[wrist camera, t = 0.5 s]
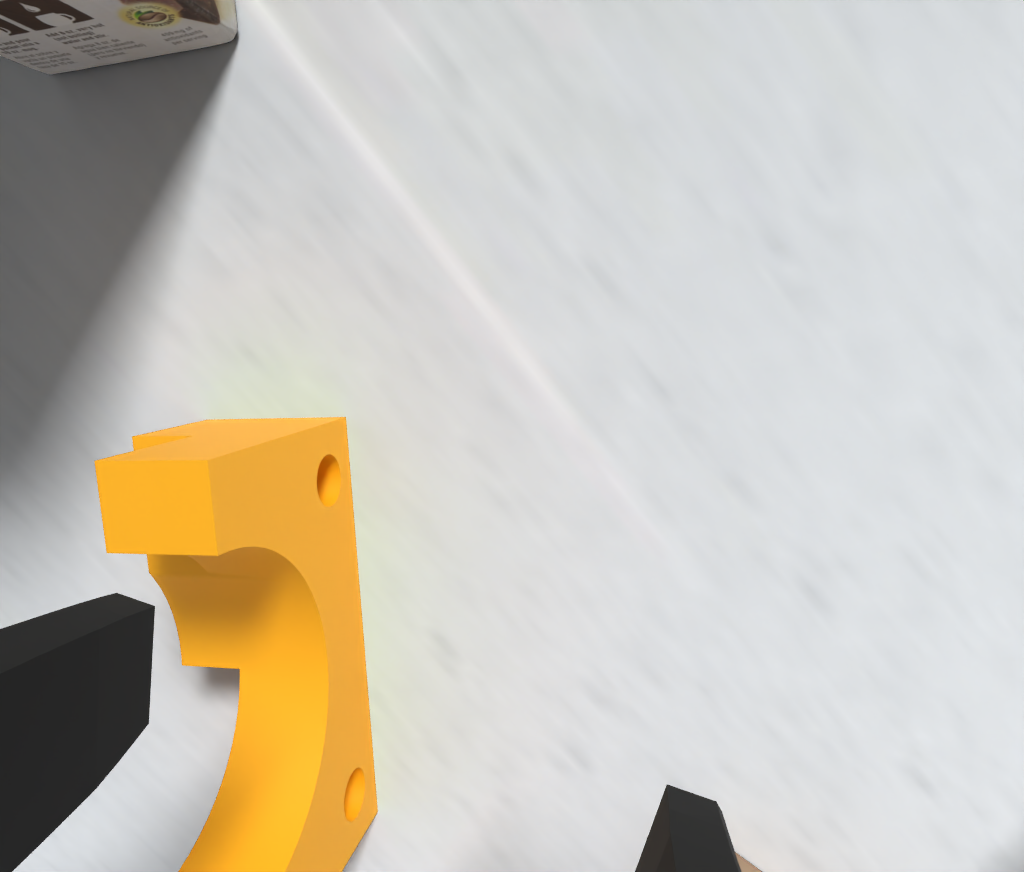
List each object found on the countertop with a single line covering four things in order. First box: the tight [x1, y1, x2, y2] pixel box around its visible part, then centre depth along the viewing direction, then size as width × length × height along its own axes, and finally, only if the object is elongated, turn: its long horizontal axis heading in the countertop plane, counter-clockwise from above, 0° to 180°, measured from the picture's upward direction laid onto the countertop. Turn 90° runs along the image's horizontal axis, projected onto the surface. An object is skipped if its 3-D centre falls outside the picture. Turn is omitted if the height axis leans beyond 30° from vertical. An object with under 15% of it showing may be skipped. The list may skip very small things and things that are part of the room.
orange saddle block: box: [95, 417, 378, 872], centre depth 19 cm, size 12×4×6 cm, turn 3°
